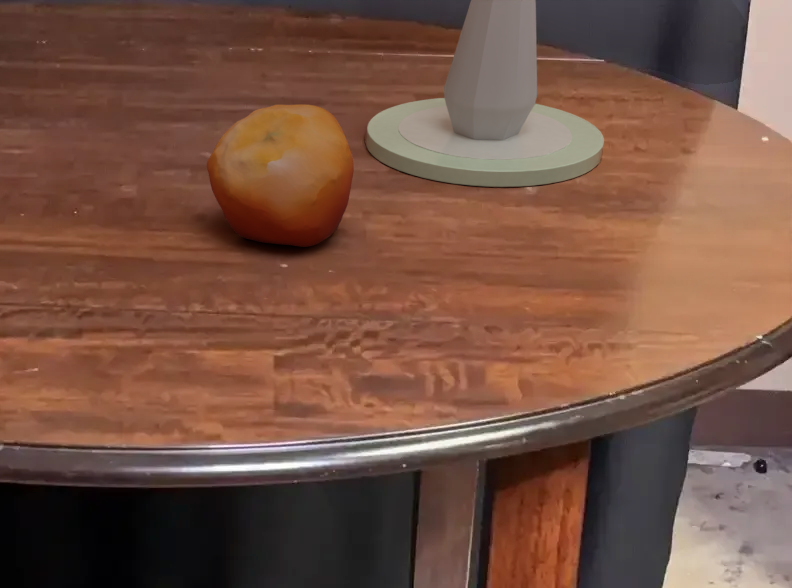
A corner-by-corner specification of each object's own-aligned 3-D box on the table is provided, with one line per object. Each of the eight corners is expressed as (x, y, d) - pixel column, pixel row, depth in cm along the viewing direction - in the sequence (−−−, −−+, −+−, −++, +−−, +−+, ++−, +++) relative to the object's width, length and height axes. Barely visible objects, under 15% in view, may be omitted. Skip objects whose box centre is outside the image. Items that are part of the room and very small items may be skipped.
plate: (589, 116, 103) (592, 100, 102) (613, 192, 91) (616, 175, 90) (368, 107, 105) (369, 91, 104) (362, 181, 93) (364, 164, 92)
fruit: (389, 190, 87) (370, 88, 81) (333, 298, 85) (308, 201, 78) (265, 166, 91) (236, 66, 84) (208, 269, 89) (173, 174, 82)
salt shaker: (423, 122, 99) (446, -95, 91) (499, 112, 100) (528, -103, 93) (470, 149, 94) (499, -77, 87) (548, 138, 96) (584, -85, 88)
